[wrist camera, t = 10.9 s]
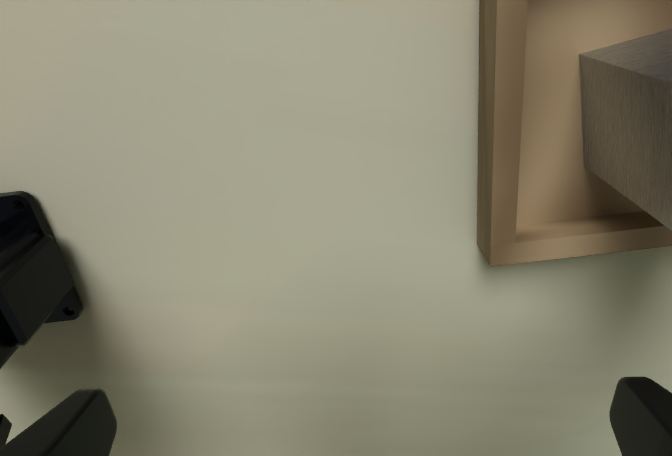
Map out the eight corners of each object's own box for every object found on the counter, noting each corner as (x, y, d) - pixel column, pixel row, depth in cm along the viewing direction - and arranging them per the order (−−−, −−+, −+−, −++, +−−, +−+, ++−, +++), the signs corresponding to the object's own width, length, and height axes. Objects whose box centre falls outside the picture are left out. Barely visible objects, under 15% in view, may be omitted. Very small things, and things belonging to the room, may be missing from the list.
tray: (477, 243, 22) (490, 266, 20) (480, -60, 17) (498, -64, 15) (747, 211, 22) (784, 232, 20) (842, -111, 16) (906, -122, 14)
